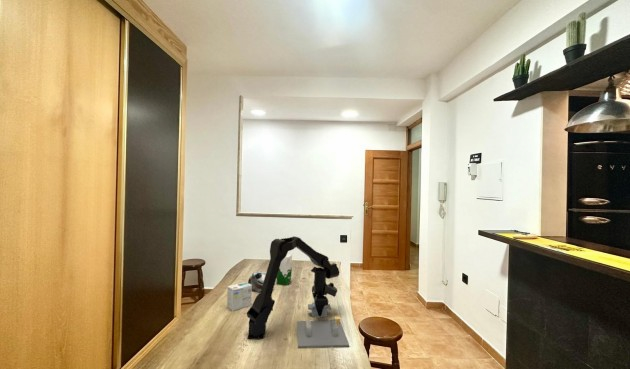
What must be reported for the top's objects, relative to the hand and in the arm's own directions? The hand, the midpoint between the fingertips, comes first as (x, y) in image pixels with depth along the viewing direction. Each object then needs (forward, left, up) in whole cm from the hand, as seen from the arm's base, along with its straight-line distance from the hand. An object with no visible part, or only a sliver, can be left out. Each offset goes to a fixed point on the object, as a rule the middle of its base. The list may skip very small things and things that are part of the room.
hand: (319, 312), depth 136 cm
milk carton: (-18, +44, -1) cm, 48 cm away
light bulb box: (-40, +10, -1) cm, 41 cm away
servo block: (0, 0, -1) cm, 1 cm away
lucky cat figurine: (-31, +34, -1) cm, 46 cm away
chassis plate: (-1, -18, -1) cm, 18 cm away
